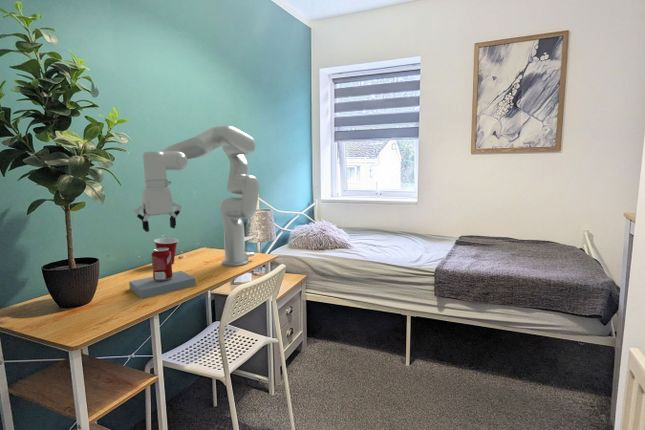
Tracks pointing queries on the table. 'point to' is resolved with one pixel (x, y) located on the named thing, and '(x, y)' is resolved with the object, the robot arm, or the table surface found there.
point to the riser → (162, 284)
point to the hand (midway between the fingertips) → (160, 229)
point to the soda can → (161, 264)
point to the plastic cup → (167, 245)
